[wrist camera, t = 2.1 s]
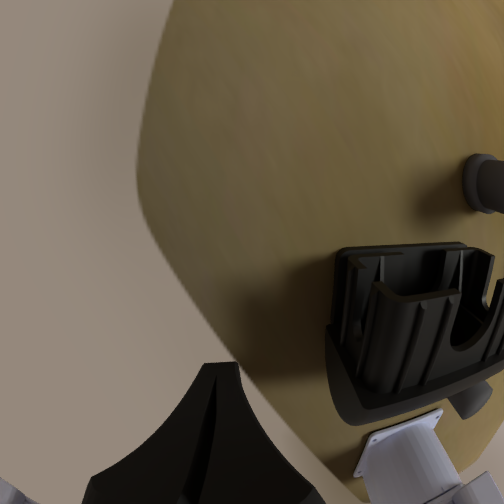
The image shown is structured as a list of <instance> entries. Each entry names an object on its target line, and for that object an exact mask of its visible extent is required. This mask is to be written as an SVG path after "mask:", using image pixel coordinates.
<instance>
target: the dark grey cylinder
mask: <svg viewBox="0 0 504 504" xmlns="http://www.w3.org/2000/svg"><path fill="white" fill-rule="evenodd" d="M492 391H493V389H492V388H491V386H490V385H489V384H488V383H487V382H486V381H485V380H484V381H482V382H480V383H478V384H476V385H474V386H472V387H470V388H468V389H465V390H463V391H461V392H459V393H456V394H454V395H452V396H450V397H447V398H448V400H449V401H450V403H451V404H452V405H453V407H454V408H455V410H456V411H457V413H458V414H459V415H460V417H461V418H462V419H463V420H464V419H467V418H469V417H471V416H473V415H474V414H475V413H477V412H478V411H479V410H480V409H481V408H482V407H483V406H484V405H485V403H486V402H487V401H488V399H489V398H490V396H491V394H492Z"/></svg>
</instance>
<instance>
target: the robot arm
mask: <svg viewBox="0 0 504 504" xmlns="http://www.w3.org/2000/svg"><path fill="white" fill-rule="evenodd" d="M442 413H443V410H442V408H439V409H437V410H435V411H432V412H430V413H427V414H425V415H423V416H420V417H418V418H415V419H412V420H410V421H407V422H404V423H401V424H399V425H396V426H393V427H390V428H387V429H383V430H380V431H377V432H374V433H372V434H371V435H370V436H369V438H368V441H367V443H366V446H365V448H364V451H363V453H362V456H361V458H360V460H359V463H358V465H357V467H356V469H355V471H354V474H353V476H354V477H360V476H363V479H364V482H365V485H366V489H367V492H368V495H369V498H370V501H371V504H504V498H503V496H502V494H501V492H500V490H499V489H498V487H497V485H496V483H495V481H494V480H493V478H492V476H491V474H490V473H489V471H485V472H484V473H483V474H481V475H480V476H478V477H477V478H475V479H474V480H472V481H471V482H469V483H468V484H466V485H465V484H463V483H462V481H461V479H460V477H459V475H458V473H457V471H456V470H455V468H454V466H453V464H452V462H451V460H450V459H449V457H448V455H447V453H446V451H445V450H444V448H443V446H442V444H441V443H440V441H439V439H438V437H437V436H436V434H435V432H434V431H433V429H434V427H435V425H436V424H437V422H438V420H439V418H440V416H441V415H442ZM0 504H39V503H37V502H35V501H33V500H32V499H30V498H28V497H26V496H25V495H24V494H23V493H22V492H21V491H19V490H18V489H17V488H15V487H14V486H12V485H11V484H9V483H8V482H6V481H5V480H3V479H2V478H0ZM82 504H326V503H325V501H324V500H323V498H322V497H321V496H320V494H319V493H318V491H317V490H316V489H315V487H314V486H313V485H312V484H311V483H310V482H309V481H308V480H306V479H305V478H304V477H303V476H302V475H301V474H300V473H299V472H298V471H297V470H296V469H295V468H294V467H293V466H292V465H291V464H290V463H289V462H288V461H287V460H286V458H285V457H284V456H283V455H282V454H281V453H280V451H279V450H278V449H277V448H276V446H275V445H274V444H273V442H272V441H271V440H270V438H269V437H268V436H267V434H266V433H265V431H264V429H263V428H262V426H261V425H260V423H259V422H258V420H257V418H256V416H255V414H254V412H253V410H252V408H251V406H250V404H249V402H248V400H247V398H246V395H245V393H244V390H243V387H242V383H241V377H240V371H239V366H238V363H237V362H235V361H234V362H219V363H204V364H203V365H202V367H201V369H200V371H199V373H198V375H197V376H196V378H195V380H194V381H193V383H192V385H191V386H190V388H189V389H188V391H187V393H186V394H185V395H184V397H183V398H182V400H181V401H180V403H179V404H178V405H177V407H176V408H175V409H174V411H173V412H172V413H171V415H170V416H169V417H168V418H167V419H166V421H165V422H164V423H163V424H162V425H161V426H160V427H159V428H158V429H157V430H156V431H155V433H154V434H152V435H151V436H150V437H149V438H148V439H147V440H146V441H145V442H144V443H143V444H142V445H140V447H138V448H137V449H136V450H134V451H133V452H132V453H130V454H129V455H127V456H126V457H125V458H123V459H122V460H121V461H119V462H117V463H116V464H114V465H113V466H111V467H109V468H107V469H105V470H104V471H102V472H100V473H98V474H96V475H94V476H92V477H91V479H90V481H89V483H88V485H87V489H86V491H85V495H84V498H83V501H82Z"/></svg>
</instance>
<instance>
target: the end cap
mask: <svg viewBox="0 0 504 504" xmlns="http://www.w3.org/2000/svg"><path fill="white" fill-rule="evenodd" d="M494 259H495V256H494V255H492V254H490V253H488V252H486V251H484V250H482V249H479V248H475V247H467V245H465V244H463V243H461V242H441V243H421V244H400V245H380V246H360V247H346V248H343V249H341V250H340V251H339V252H338V253H337V255H336V259H335V272H334V286H333V298H332V309H331V324H329V325H327V326H326V333H325V358H326V369H327V377H328V383H329V388H330V393H331V396H332V400H333V403H334V405H335V408H336V410H337V412H338V414H339V416H340V417H341V418H342V420H343V421H344V422H346V423H347V424H349V425H351V426H359V425H364V424H368V423H372V422H376V421H379V420H383V419H387V418H390V417H394V416H397V415H400V414H403V413H406V412H409V411H412V410H415V409H418V408H421V407H424V406H427V405H429V404H432V403H435V402H437V401H440V400H442V399H445V398H447V397H450V396H452V395H454V394H456V393H459V392H461V391H463V390H465V389H468V388H470V387H472V386H474V385H476V384H478V383H480V382H482V381H484V380H486V379H488V378H490V377H491V376H493V375H495V374H497V373H499V372H500V371H502V370H503V369H504V278H503V279H498V280H497V282H496V286H495V290H494V294H493V297H492V301H491V304H490V307H488V305H487V303H486V294H487V290H488V286H489V282H490V278H491V274H492V269H493V264H494Z"/></svg>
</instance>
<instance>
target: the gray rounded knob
mask: <svg viewBox="0 0 504 504" xmlns="http://www.w3.org/2000/svg"><path fill="white" fill-rule="evenodd" d="M462 183H463V192H464V196H465V198H466V201H467V203H468V204H469V206H470V207H471V208H472V209H474V210H477V211H480V212H483V213H486V214H491V213H494V212H495V211H496V212H500V213H503V214H504V161H499V160H497V159H496V158H495V157H494V156H492V155H489V154H474V155H472V156H471V157H470V158H469V159H468V160H467V162H466V164H465V167H464V171H463V179H462Z"/></svg>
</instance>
